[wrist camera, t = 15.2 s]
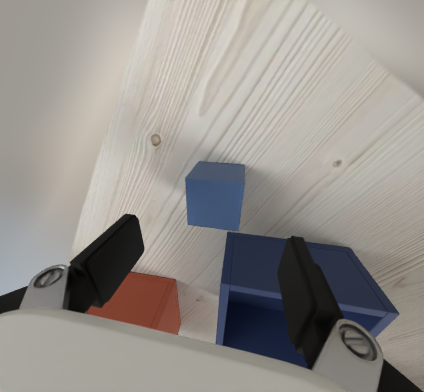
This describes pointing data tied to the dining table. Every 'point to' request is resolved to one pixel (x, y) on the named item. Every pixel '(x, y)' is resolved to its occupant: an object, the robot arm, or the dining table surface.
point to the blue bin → (272, 301)
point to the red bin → (144, 303)
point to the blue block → (215, 195)
